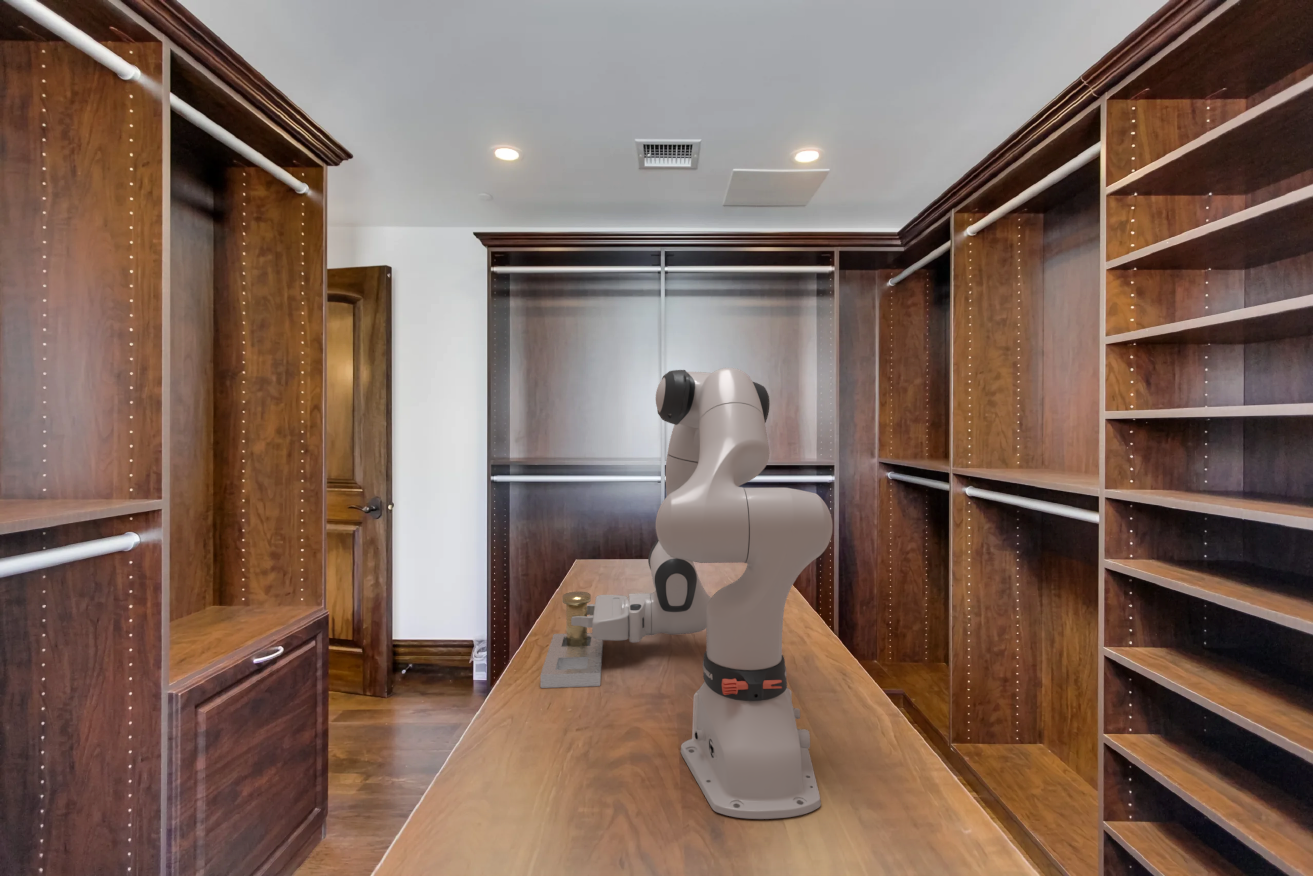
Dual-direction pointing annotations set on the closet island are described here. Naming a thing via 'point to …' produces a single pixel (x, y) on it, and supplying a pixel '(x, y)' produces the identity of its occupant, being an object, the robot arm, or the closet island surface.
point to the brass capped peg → (576, 606)
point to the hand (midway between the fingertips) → (572, 616)
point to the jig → (572, 663)
